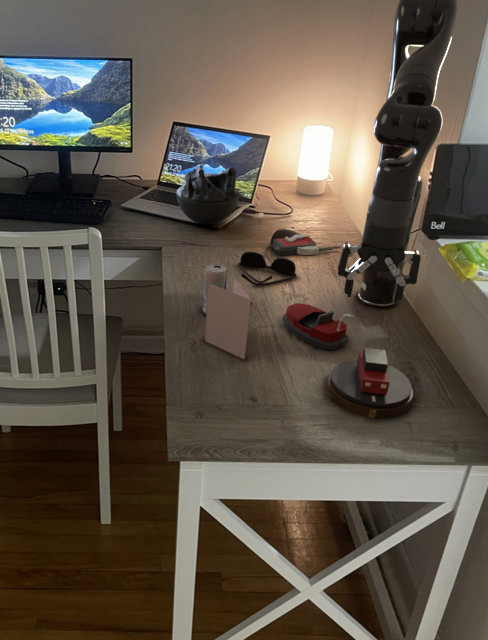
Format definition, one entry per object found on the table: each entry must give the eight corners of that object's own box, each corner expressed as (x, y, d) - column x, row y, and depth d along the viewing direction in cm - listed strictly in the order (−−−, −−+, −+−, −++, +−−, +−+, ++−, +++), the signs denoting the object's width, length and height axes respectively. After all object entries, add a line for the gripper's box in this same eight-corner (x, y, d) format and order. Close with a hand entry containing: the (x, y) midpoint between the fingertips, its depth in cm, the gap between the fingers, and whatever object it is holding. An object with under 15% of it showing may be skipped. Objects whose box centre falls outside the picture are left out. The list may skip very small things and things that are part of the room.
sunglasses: (222, 284, 183) (224, 267, 181) (239, 264, 195) (241, 248, 192) (283, 297, 177) (286, 280, 175) (297, 275, 189) (299, 259, 186)
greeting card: (248, 359, 152) (254, 299, 144) (216, 362, 150) (221, 302, 143) (232, 333, 161) (238, 276, 153) (202, 336, 160) (206, 278, 152)
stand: (325, 365, 150) (326, 358, 149) (405, 375, 147) (407, 367, 146) (327, 412, 135) (329, 404, 134) (416, 424, 132) (419, 416, 131)
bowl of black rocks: (163, 223, 220) (165, 166, 211) (197, 207, 234) (200, 152, 224) (215, 239, 210) (219, 179, 200) (248, 220, 224) (253, 164, 214)
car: (329, 358, 148) (334, 333, 145) (405, 367, 146) (412, 341, 142) (331, 401, 135) (336, 374, 131) (416, 411, 132) (423, 384, 129)
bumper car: (303, 312, 171) (308, 276, 165) (363, 348, 156) (371, 310, 151) (273, 322, 166) (278, 285, 161) (332, 360, 152) (339, 321, 146)
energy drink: (225, 307, 172) (229, 264, 166) (221, 317, 168) (225, 273, 161) (204, 305, 173) (207, 261, 167) (200, 314, 169) (203, 270, 163)
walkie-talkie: (279, 259, 198) (341, 253, 202) (281, 245, 196) (344, 239, 200) (267, 247, 205) (327, 241, 210) (269, 233, 203) (329, 228, 207)
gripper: (427, 215, 124) (408, 294, 133) (347, 207, 127) (334, 285, 136) (431, 230, 118) (411, 312, 126) (347, 221, 121) (333, 302, 129)
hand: (371, 298), depth 131 cm, fingers open, 8 cm apart
